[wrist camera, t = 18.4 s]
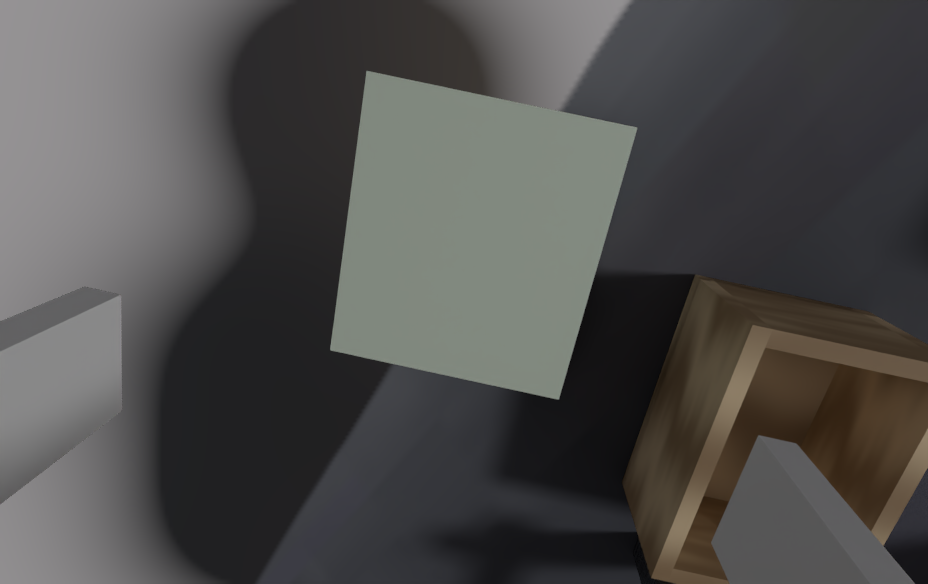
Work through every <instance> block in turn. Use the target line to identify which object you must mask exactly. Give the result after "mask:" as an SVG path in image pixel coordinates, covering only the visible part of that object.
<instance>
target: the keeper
mask: <svg viewBox="0 0 928 584" xmlns="http://www.w3.org/2000/svg"><path fill="white" fill-rule="evenodd" d="M633 555H634V559H635V563H636V566H637V570H638V573H639V577H640V580H641V584H673V583H671V582H667V581H662V580H658V579H653V578H651V576H650V573H649V570H648V566H647V563H646V560H645V557H644V553H643V550H642V547H641V543H640V540H639V538H638V541H637V544H636V546H635V549H634V552H633Z"/></svg>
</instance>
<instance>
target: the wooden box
mask: <svg viewBox="0 0 928 584" xmlns="http://www.w3.org/2000/svg"><path fill="white" fill-rule="evenodd" d="M758 435H760V436H765V437H769V438H774V439H778V440H783V441H788V442H792V443H796V444H797V445H798V446H799V447H800V448H801V449H802V451H803V452H804V453H805V454H806V455H807V457H808V458H809V459H810V460H811V461H812V462H813V464H814V465H815V466H816V467H817V468H818V470H819V471H820V472H821V473H822V474H823V475H824V477H825V478H826V479H827V480H828V481H829V483H830V484H831V485H832V486H833V487H834V488H835V490H836V491H837V492H838V493H839V494H840V496H841V497H842V498H843V499H844V500H845V502H846V503H847V504H848V505H849V506H850V507H851V509H852V510H853V511H854V512H855V513H856V515H857V516H858V517H859V518H860V519H861V520H862V522H863V523H864V524H865V525H866V526H867V528H868V529H869V530H870V531H871V532H872V533H873V535H874V536H875V537H876V538H877V539H878V541H879V542H880V543H881V544H882V545H883V546H884V544H885V542H886V540H887V538H888V537H889V535H890V533H891V531H892V530H893V528H894V526H895V524H896V523H897V521H898V519H899V517H900V515H901V514H902V512H903V510H904V508H905V507H906V505H907V503H908V501H909V500H910V498H911V496H912V494H913V493H914V491H915V489H916V487H917V485H918V484H919V482H920V480H921V478H922V477H923V475H924V473H925V471H926V470H927V468H928V344H926V343H924V342H922V341H920V340H919V339H917V338H915V337H913V336H911V335H910V334H908V333H906V332H904V331H902V330H901V329H899V328H897V327H895V326H893V325H892V324H890V323H888V322H886V321H884V320H883V319H881V318H879V317H877V316H875V315H874V314H872V313H870V312H867V311H863V310H858V309H853V308H849V307H844V306H839V305H835V304H830V303H825V302H821V301H816V300H811V299H807V298H802V297H797V296H793V295H788V294H783V293H779V292H774V291H769V290H765V289H760V288H755V287H751V286H746V285H741V284H737V283H732V282H727V281H723V280H718V279H713V278H709V277H704V276H699V275H695V277H694V279H693V282H692V285H691V288H690V291H689V294H688V296H687V299H686V302H685V305H684V308H683V310H682V313H681V316H680V319H679V322H678V325H677V327H676V330H675V333H674V336H673V339H672V342H671V344H670V347H669V350H668V353H667V356H666V359H665V361H664V364H663V367H662V370H661V373H660V376H659V378H658V381H657V384H656V387H655V390H654V393H653V395H652V398H651V401H650V404H649V407H648V410H647V412H646V415H645V418H644V421H643V424H642V427H641V429H640V432H639V435H638V438H637V441H636V444H635V446H634V449H633V452H632V455H631V458H630V461H629V463H628V466H627V469H626V472H625V475H624V477H623V480H622V484H623V487H624V491H625V494H626V497H627V501H628V504H629V507H630V511H631V514H632V517H633V520H634V524H635V527H636V530H637V534H638V537H639V540H640V543H641V547H642V550H643V553H644V557H645V560H646V563H647V566H648V570H649V573H650V576H651V578H653V579H658V580H662V581H667V582H671V583H676V584H730V583H729V581H728V579H727V577H726V575H725V572H724V570H723V568H722V566H721V564H720V561H719V559H718V557H717V555H716V553H715V550H714V548H713V546H712V544H711V541H712V539H713V537H714V535H715V532H716V530H717V528H718V525H719V523H720V521H721V519H722V516H723V514H724V512H725V510H726V507H727V505H728V503H729V501H730V498H731V496H732V494H733V491H734V489H735V487H736V485H737V482H738V480H739V478H740V476H741V473H742V471H743V469H744V467H745V464H746V462H747V460H748V457H749V455H750V453H751V451H752V448H753V446H754V444H755V442H756V439H757V437H758Z"/></svg>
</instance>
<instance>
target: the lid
mask: <svg viewBox="0 0 928 584" xmlns="http://www.w3.org/2000/svg"><path fill="white" fill-rule="evenodd" d="M636 131H637V127H632V126H627V125H622V124H618V123H613V122H608V121H603V120H598V119H594V118H589V117H584V116H579V115H575V114H570V113H565V112H560V111H556V110H550V109H546V108H541V107H536V106H532V105H526V104H522V103H517V102H513V101H508V100H503V99H498V98H494V97H488V96H484V95H479V94H474V93H470V92H465V91H460V90H455V89H451V88H446V87H441V86H436V85H431V84H427V83H422V82H417V81H412V80H408V79H403V78H398V77H393V76H389V75H384V74H379V73H374V72H370V71H367V72H366V79H365V87H364V95H363V102H362V110H361V118H360V125H359V133H358V141H357V148H356V156H355V164H354V171H353V180H352V187H351V195H350V202H349V210H348V217H347V226H346V233H345V240H344V249H343V256H342V263H341V271H340V279H339V287H338V294H337V301H336V310H335V317H334V325H333V332H332V340H331V347H330V350H332V351H337V352H341V353H346V354H350V355H355V356H360V357H364V358H369V359H373V360H378V361H382V362H387V363H392V364H396V365H401V366H406V367H410V368H415V369H419V370H424V371H429V372H433V373H438V374H442V375H447V376H452V377H456V378H461V379H465V380H470V381H475V382H479V383H484V384H488V385H493V386H498V387H502V388H507V389H512V390H516V391H521V392H525V393H530V394H535V395H539V396H544V397H548V398H553V399H558V400H559V397H560V394H561V390H562V387H563V383H564V380H565V377H566V373H567V370H568V366H569V363H570V359H571V356H572V352H573V349H574V345H575V342H576V338H577V335H578V332H579V328H580V325H581V321H582V318H583V314H584V311H585V307H586V304H587V300H588V297H589V294H590V290H591V287H592V283H593V280H594V276H595V273H596V269H597V266H598V262H599V259H600V256H601V252H602V249H603V245H604V242H605V238H606V235H607V231H608V228H609V224H610V221H611V217H612V214H613V211H614V207H615V204H616V200H617V197H618V193H619V190H620V186H621V183H622V179H623V176H624V173H625V169H626V166H627V162H628V159H629V155H630V152H631V148H632V145H633V141H634V138H635V135H636Z"/></svg>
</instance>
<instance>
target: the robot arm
mask: <svg viewBox="0 0 928 584" xmlns="http://www.w3.org/2000/svg"><path fill="white" fill-rule="evenodd" d="M121 353H122V352H121V295H120V294H116V293H111V292H107V291H102V290H98V289H93V288H89V287H82V288H80V289H78V290H75V291H73V292H70V293H68V294H65V295H63V296H61V297H58V298H56V299H53V300H51V301H49V302H46V303H44V304H41V305H39V306H37V307H34V308H32V309H29V310H27V311H24V312H22V313H20V314H17V315H15V316H12V317H10V318H7V319H5V320H3V321H0V504H1V503H3V502H4V501H5V500H6V499H8V498H9V497H10V496H12V495H13V494H14V493H16V492H17V491H18V490H19V489H21V488H22V487H23V486H25V485H26V484H27V483H29V482H30V481H31V480H32V479H34V478H35V477H36V476H38V475H39V474H40V473H42V472H43V471H44V470H45V469H47V468H48V467H49V466H50V465H52V464H53V463H55V462H56V461H57V460H58V459H60V458H61V457H62V456H64V455H65V454H66V453H67V452H69V451H70V450H71V449H73V448H74V447H75V446H76V445H78V444H79V443H80V442H82V441H83V440H84V439H86V438H87V437H88V436H90V435H91V434H92V433H93V432H95V431H96V430H97V429H99V428H100V427H101V426H103V425H104V424H105V423H107V422H108V421H109V420H110V419H112V418H113V417H114V416H115V415H117V414H118V413H119V412H121V411H122V354H121ZM711 544H712V546H713V548H714V550H715V553H716V555H717V557H718V559H719V561H720V564H721V566H722V568H723V570H724V572H725V575H726V577H727V579H728V581H729V583H730V584H915V583H914V582H913V581H912V580H911V578H910V577H909V576H908V575H907V574H906V572H905V571H904V570H903V569H902V568H901V567H900V565H899V564H898V563H897V562H896V561H895V559H894V558H893V557H892V556H891V555H890V554H889V552H888V551H887V550H886V549H885V548H884V546H883V545H882V544H881V543H880V542H879V541H878V539H877V538H876V537H875V536H874V535H873V533H872V532H871V531H870V530H869V529H868V528H867V526H866V525H865V524H864V523H863V522H862V520H861V519H860V518H859V517H858V516H857V515H856V513H855V512H854V511H853V510H852V509H851V507H850V506H849V505H848V504H847V503H846V502H845V500H844V499H843V498H842V497H841V496H840V494H839V493H838V492H837V491H836V490H835V488H834V487H833V486H832V485H831V484H830V483H829V481H828V480H827V479H826V478H825V477H824V475H823V474H822V473H821V472H820V471H819V470H818V468H817V467H816V466H815V465H814V464H813V462H812V461H811V460H810V459H809V458H808V457H807V455H806V454H805V453H804V452H803V451H802V449H801V448H800V447H799V446H798V445H797V444H796V443H792V442H788V441H783V440H778V439H774V438H769V437H765V436H760V435H758V437H757V439H756V442H755V444H754V446H753V448H752V451H751V453H750V455H749V457H748V460H747V462H746V464H745V467H744V469H743V471H742V473H741V476H740V478H739V480H738V482H737V485H736V487H735V489H734V491H733V494H732V496H731V498H730V501H729V503H728V505H727V507H726V510H725V512H724V514H723V516H722V519H721V521H720V523H719V525H718V528H717V530H716V532H715V535H714V537H713V539H712V541H711Z"/></svg>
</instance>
